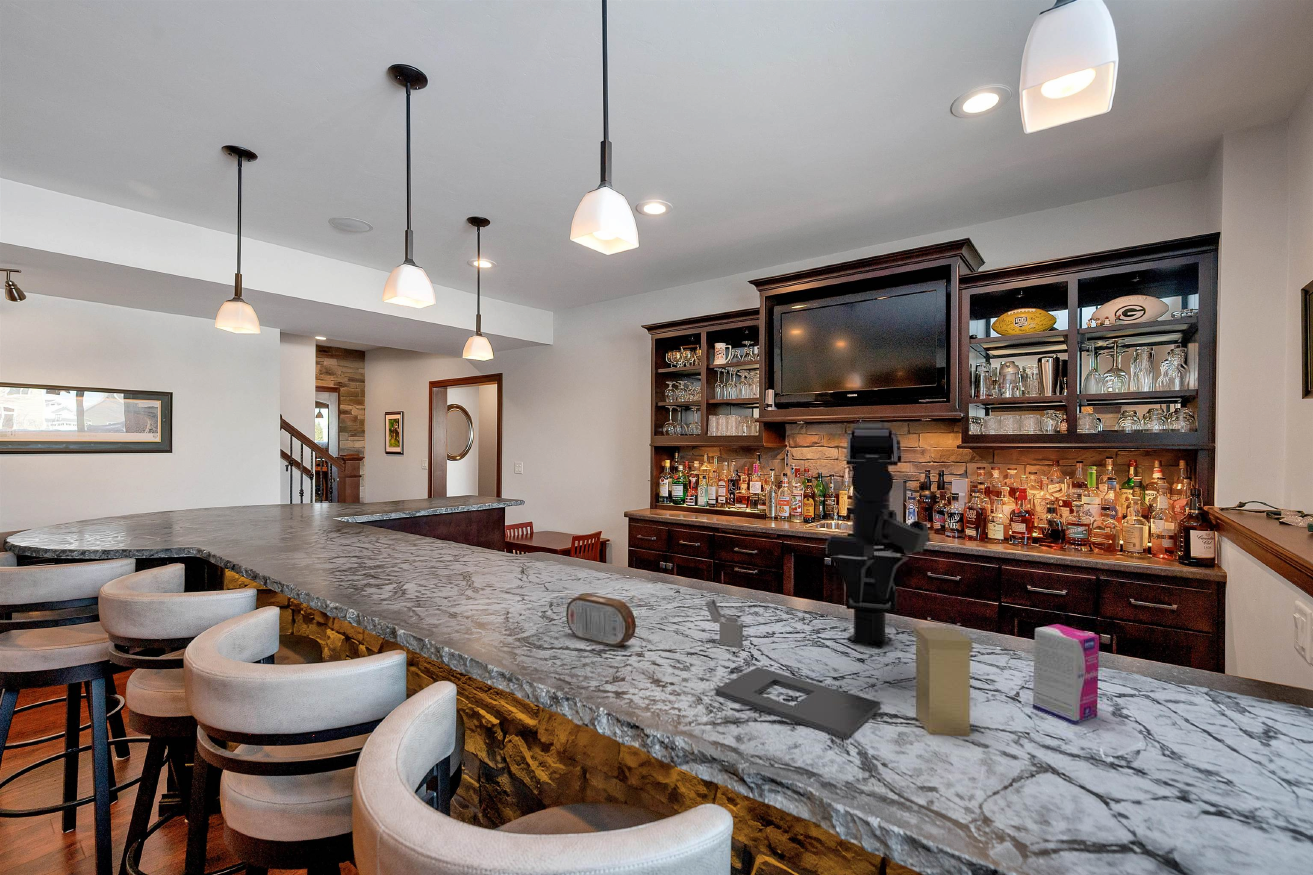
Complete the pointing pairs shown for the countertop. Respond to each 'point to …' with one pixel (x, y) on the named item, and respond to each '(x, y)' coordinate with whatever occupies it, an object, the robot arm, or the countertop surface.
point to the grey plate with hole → (802, 702)
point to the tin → (601, 619)
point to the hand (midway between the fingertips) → (870, 600)
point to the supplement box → (1066, 673)
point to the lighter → (726, 626)
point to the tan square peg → (943, 680)
